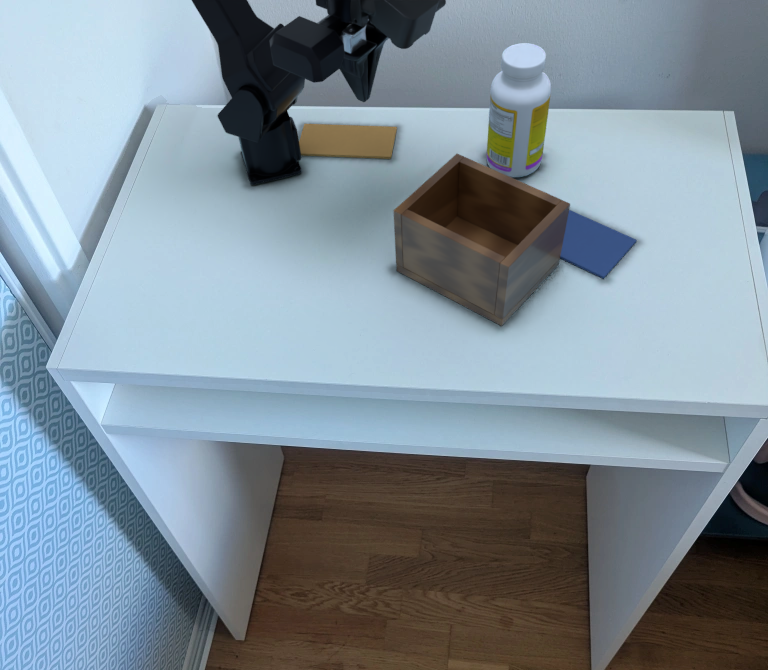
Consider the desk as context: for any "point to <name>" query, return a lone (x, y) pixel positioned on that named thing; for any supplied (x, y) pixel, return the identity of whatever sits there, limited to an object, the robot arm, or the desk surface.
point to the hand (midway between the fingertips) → (363, 99)
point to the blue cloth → (593, 245)
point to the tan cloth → (347, 141)
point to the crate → (479, 237)
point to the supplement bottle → (518, 111)
